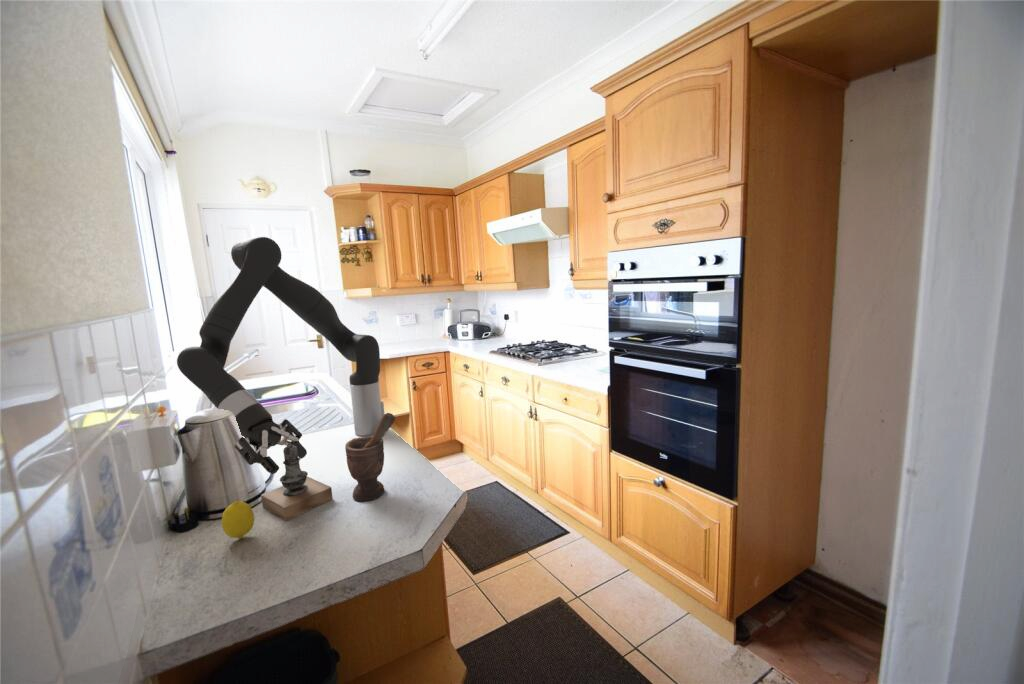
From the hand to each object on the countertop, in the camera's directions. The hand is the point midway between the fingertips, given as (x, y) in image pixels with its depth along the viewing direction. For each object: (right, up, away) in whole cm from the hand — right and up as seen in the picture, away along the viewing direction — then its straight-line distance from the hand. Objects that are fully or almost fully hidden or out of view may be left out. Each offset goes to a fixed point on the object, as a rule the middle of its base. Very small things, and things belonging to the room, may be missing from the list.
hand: (290, 463), depth 102 cm
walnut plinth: (+1, -10, +1) cm, 10 cm away
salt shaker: (+1, -7, +1) cm, 7 cm away
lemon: (-4, -12, -12) cm, 18 cm away
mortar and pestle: (+18, -8, +4) cm, 21 cm away
